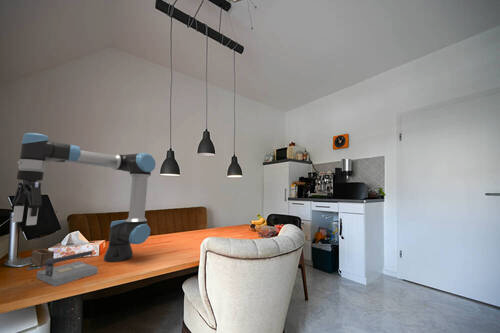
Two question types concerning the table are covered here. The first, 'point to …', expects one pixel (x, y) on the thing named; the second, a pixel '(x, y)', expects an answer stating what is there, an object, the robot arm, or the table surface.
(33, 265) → the smartphone
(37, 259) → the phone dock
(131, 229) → the robot arm
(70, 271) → the plate
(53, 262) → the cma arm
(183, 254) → the table surface
